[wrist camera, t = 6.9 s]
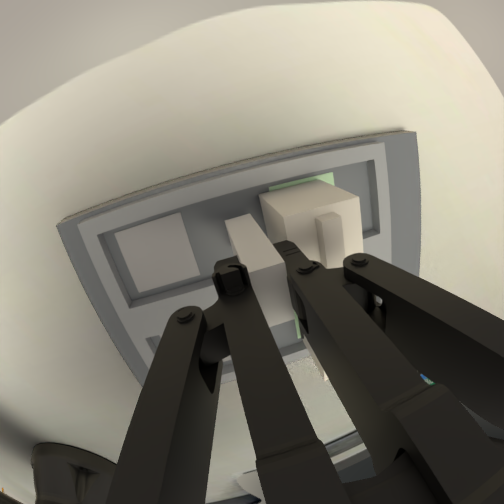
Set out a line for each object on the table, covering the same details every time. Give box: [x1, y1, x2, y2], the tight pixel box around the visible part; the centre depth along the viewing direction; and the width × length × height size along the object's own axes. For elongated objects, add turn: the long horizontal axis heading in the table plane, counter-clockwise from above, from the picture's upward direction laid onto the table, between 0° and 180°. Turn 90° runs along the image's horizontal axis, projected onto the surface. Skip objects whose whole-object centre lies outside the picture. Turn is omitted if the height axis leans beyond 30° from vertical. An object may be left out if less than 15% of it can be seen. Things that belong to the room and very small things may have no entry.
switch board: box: [56, 131, 421, 387], centre depth 21 cm, size 26×16×2 cm, turn 102°
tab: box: [259, 179, 364, 269], centre depth 16 cm, size 4×4×6 cm
